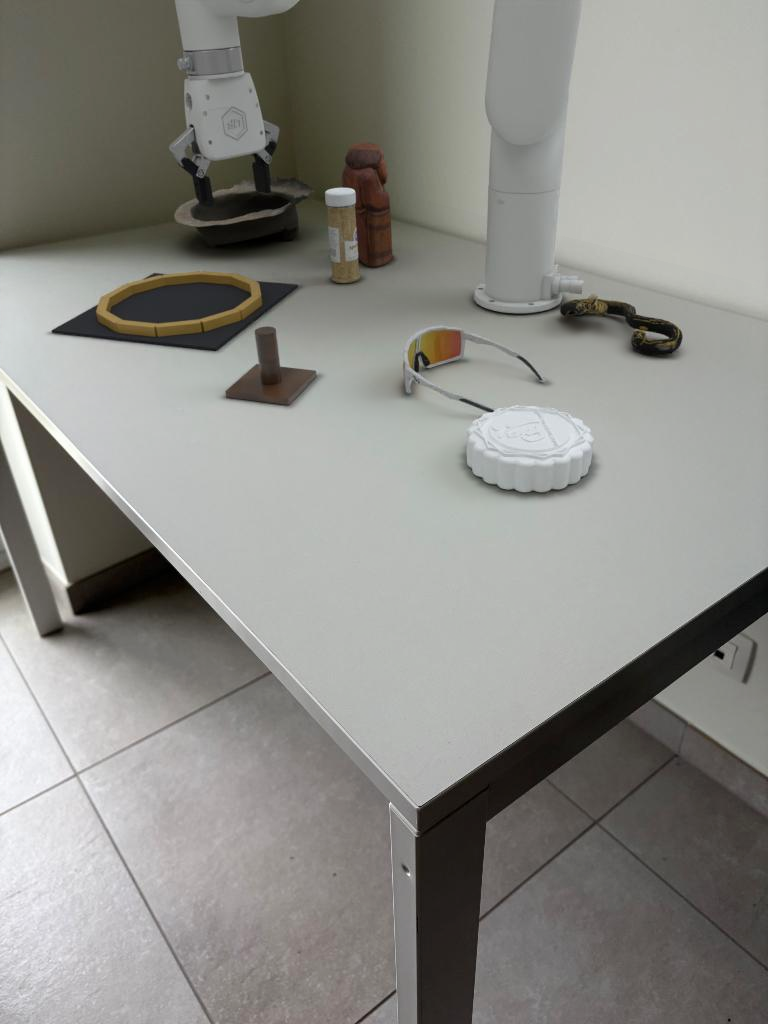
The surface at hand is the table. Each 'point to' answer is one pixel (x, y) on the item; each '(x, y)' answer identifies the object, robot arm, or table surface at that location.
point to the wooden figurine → (369, 202)
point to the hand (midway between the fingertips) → (235, 198)
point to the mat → (179, 312)
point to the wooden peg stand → (270, 375)
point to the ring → (181, 326)
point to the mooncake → (529, 448)
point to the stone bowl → (247, 212)
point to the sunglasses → (446, 356)
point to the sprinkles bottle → (342, 234)
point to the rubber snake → (630, 323)
